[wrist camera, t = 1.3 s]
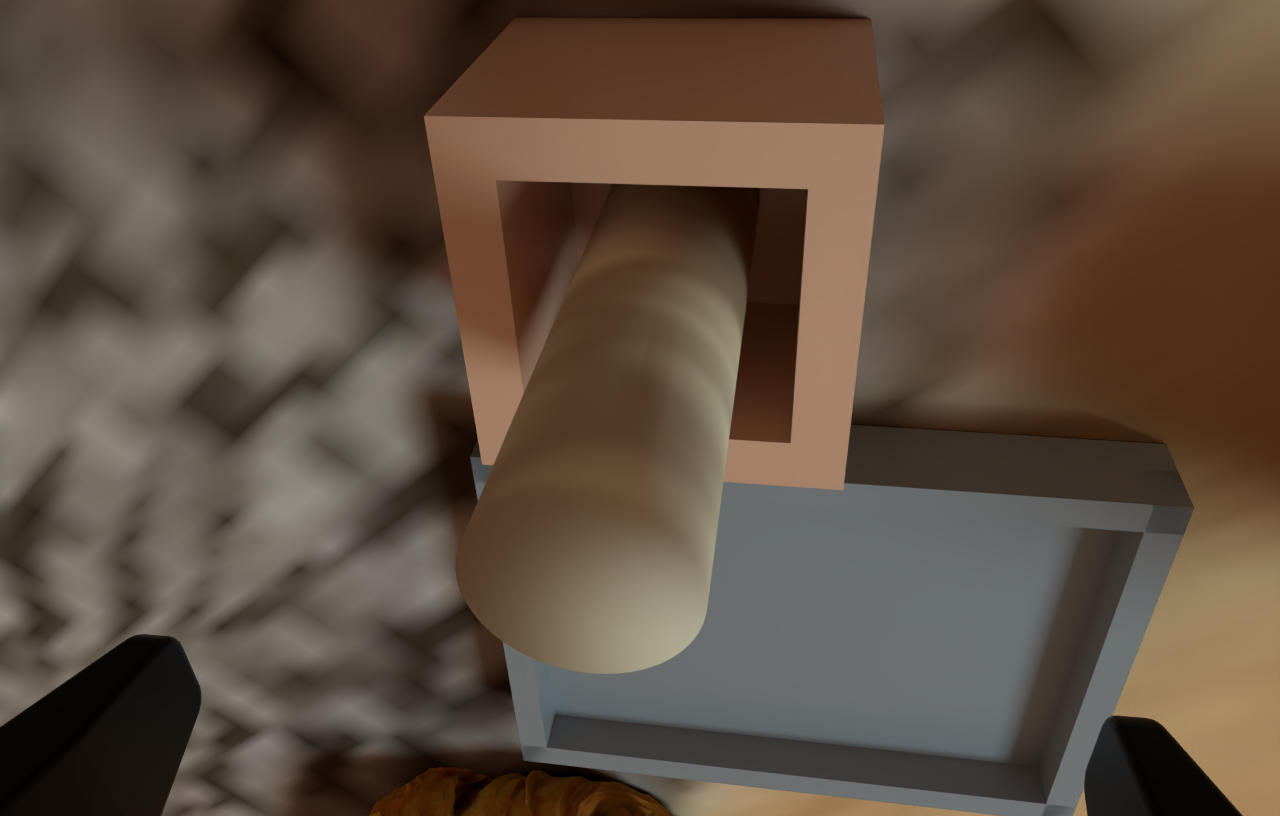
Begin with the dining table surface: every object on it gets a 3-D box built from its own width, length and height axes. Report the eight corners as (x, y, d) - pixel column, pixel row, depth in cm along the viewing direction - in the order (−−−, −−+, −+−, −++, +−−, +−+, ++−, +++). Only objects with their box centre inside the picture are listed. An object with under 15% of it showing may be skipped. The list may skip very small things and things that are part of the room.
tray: (1165, 444, 23) (1193, 508, 21) (1055, 756, 30) (1069, 823, 28) (495, 402, 25) (470, 456, 23) (539, 701, 32) (523, 760, 30)
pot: (871, 18, 18) (884, 124, 14) (840, 331, 22) (843, 489, 18) (515, 17, 19) (423, 115, 15) (547, 317, 23) (481, 464, 19)
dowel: (762, 128, 19) (708, 503, 10) (757, 265, 21) (706, 684, 12) (610, 125, 20) (437, 483, 11) (618, 260, 21) (473, 661, 13)
